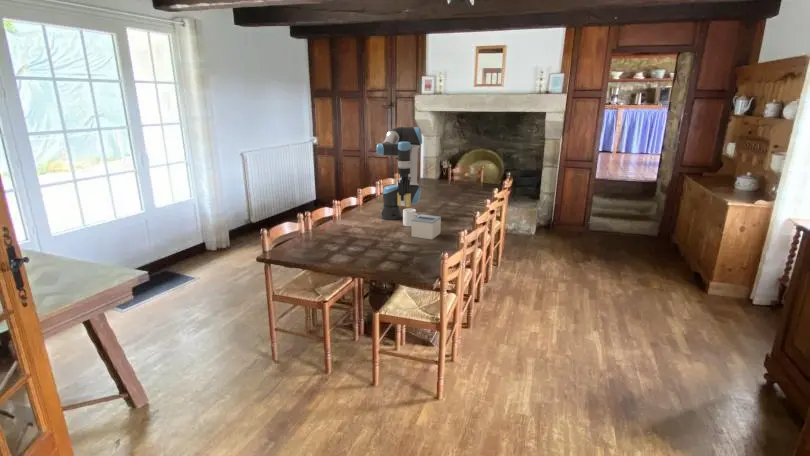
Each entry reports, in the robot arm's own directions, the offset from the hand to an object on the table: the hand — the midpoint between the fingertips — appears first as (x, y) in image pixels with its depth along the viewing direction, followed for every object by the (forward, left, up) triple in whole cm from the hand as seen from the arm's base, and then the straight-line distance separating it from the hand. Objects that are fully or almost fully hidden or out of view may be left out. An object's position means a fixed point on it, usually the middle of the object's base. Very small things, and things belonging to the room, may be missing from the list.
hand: (404, 205), depth 269 cm
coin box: (+14, +4, -19) cm, 24 cm away
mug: (-3, +19, -19) cm, 27 cm away
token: (0, 0, -1) cm, 1 cm away
